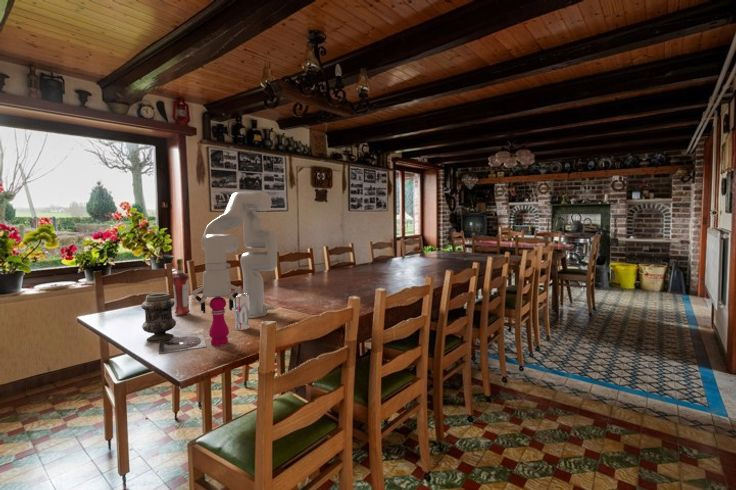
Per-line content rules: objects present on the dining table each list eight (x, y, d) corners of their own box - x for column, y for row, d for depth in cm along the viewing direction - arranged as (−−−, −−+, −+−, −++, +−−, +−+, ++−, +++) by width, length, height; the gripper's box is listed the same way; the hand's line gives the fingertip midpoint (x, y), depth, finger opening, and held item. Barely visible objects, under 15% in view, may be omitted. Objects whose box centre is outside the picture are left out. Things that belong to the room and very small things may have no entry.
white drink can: (253, 326, 173) (252, 293, 172) (243, 331, 167) (242, 297, 165) (240, 325, 176) (239, 292, 174) (230, 329, 169) (229, 296, 168)
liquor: (177, 312, 198) (174, 258, 195) (192, 312, 199) (189, 258, 196) (171, 316, 191) (168, 260, 188) (187, 316, 191) (184, 259, 189)
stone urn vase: (178, 332, 165) (175, 291, 164) (174, 340, 154) (172, 295, 153) (146, 336, 161) (143, 293, 160) (140, 344, 150) (137, 298, 149)
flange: (203, 335, 162) (203, 332, 162) (206, 347, 148) (206, 344, 148) (159, 341, 155) (159, 338, 155) (158, 354, 141) (158, 351, 141)
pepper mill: (213, 340, 155) (210, 291, 153) (231, 339, 156) (229, 291, 154) (207, 346, 148) (204, 295, 146) (226, 346, 149) (224, 295, 147)
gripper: (238, 264, 156) (239, 306, 157) (191, 267, 149) (192, 311, 150) (241, 267, 150) (242, 310, 151) (191, 269, 142) (193, 316, 143)
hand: (217, 311), depth 150 cm, fingers open, 9 cm apart
